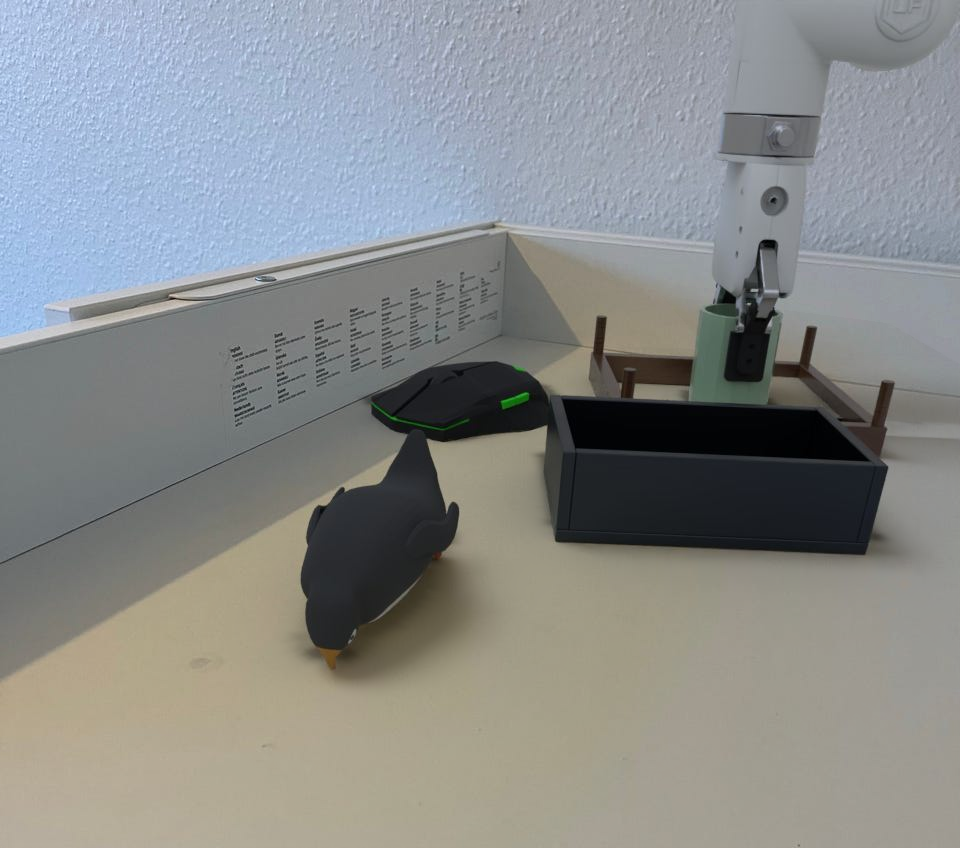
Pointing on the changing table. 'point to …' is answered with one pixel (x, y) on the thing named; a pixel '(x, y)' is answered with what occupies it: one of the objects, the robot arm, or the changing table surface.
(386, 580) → the figurine
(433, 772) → the changing table surface
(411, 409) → the computer mouse
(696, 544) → the black open box
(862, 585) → the changing table surface
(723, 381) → the cup
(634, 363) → the frame
